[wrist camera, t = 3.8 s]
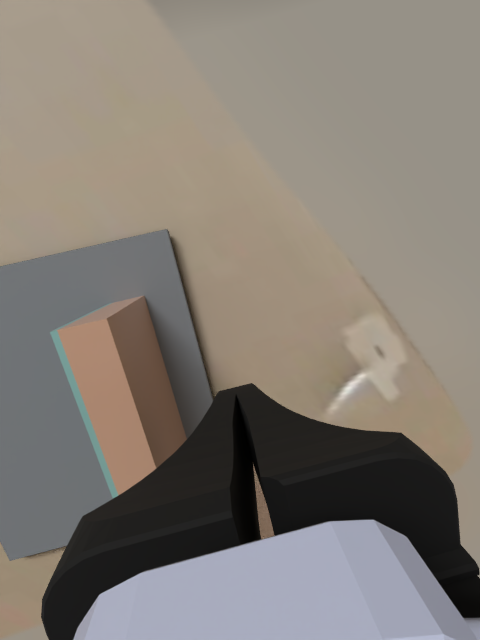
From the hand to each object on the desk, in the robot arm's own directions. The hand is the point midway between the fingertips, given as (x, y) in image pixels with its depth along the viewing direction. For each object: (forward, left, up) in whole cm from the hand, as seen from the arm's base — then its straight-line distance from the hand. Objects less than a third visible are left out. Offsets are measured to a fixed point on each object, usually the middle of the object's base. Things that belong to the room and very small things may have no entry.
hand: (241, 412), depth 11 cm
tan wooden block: (-4, 0, -4) cm, 5 cm away
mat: (-7, 0, -4) cm, 8 cm away
